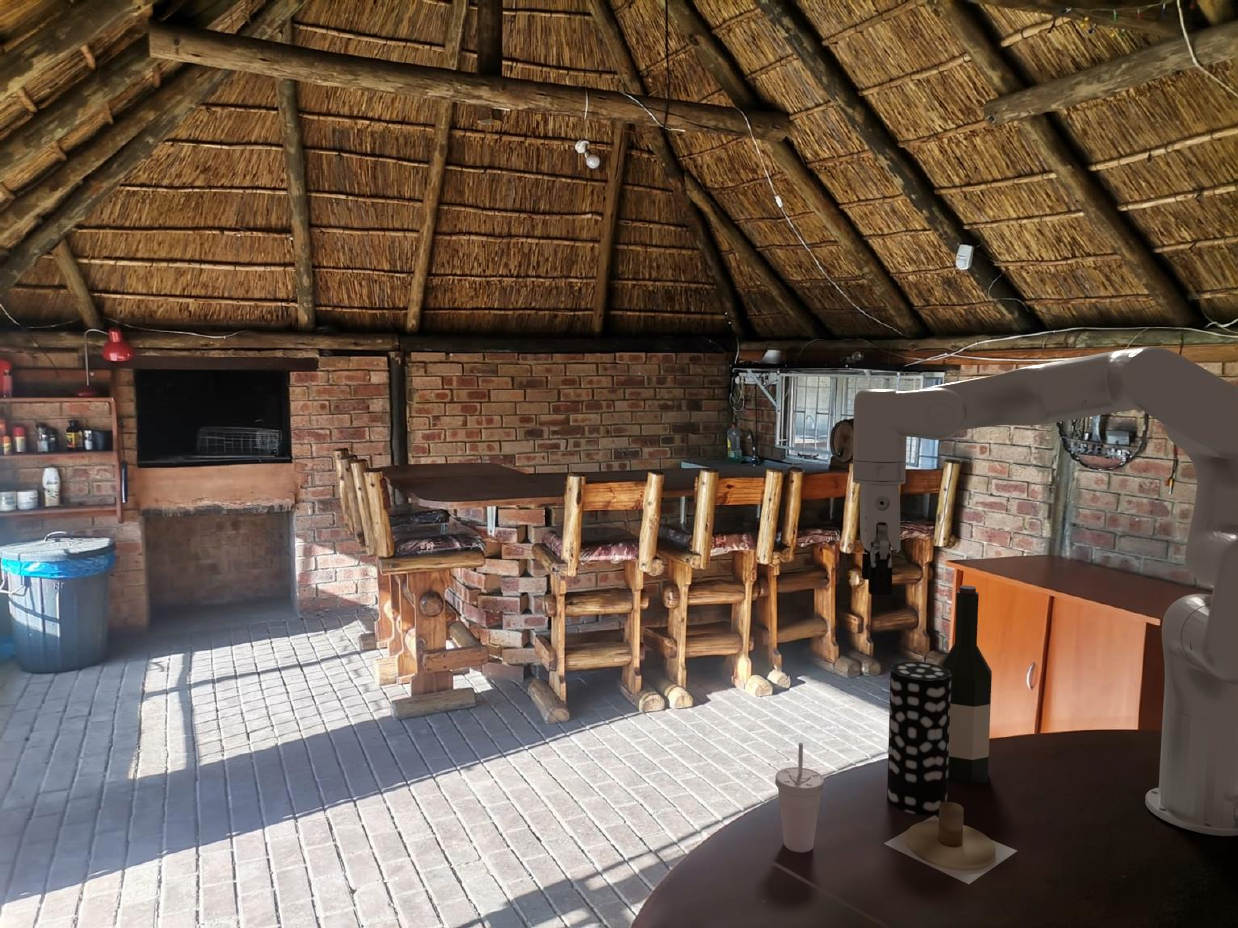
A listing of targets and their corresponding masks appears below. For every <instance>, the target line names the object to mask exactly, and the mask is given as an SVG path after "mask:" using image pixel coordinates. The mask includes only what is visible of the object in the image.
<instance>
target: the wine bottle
mask: <svg viewBox="0 0 1238 928" xmlns="http://www.w3.org/2000/svg"><path fill="white" fill-rule="evenodd" d="M979 595H980V593H979V592H978V591H977V586H973V585H960V586H959V590H956V598H955V601H956V602H955V627H954V629H955V633H954V644H953V645H952V647H951V648H950V649H949V650H948V652H947V654H946V655H945V656H944V657H943V658H942V660H941V662H940V663H939V666H942V667H944V668H946V669H948V670H949V671H950V672H951V702H950V732H949V762H948V781H951V782H957V783H963V784H969V785H975V784H981V785H983V784H987V782H988V783H989V758H990V757H989V755H990V754H989V753H990V733H991V732H990V729H991V727H990V726H991V706H992V704H991V703H992V702H991V701H992V699H991V698H992V679H993V678H992V676H993V672H992V669H991V668H990V666H989V664H988V662H987V660H986V658H985V657H984V655H983V653H982V652H981V650H980V648H979V646H978V626H979V625H978V622H979V621H978V620H979V597H980V596H979Z"/></svg>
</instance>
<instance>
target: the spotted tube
mask: <svg viewBox="0 0 1238 928" xmlns="http://www.w3.org/2000/svg"><path fill="white" fill-rule="evenodd" d="M939 665H940V664H939ZM939 665H938V664H934V663H929V662H924V661H902V662H901V661H900V662H896V663H894V664H891V666H890V676H889V677H890V678H889V709H888V710H889V712H888V713H889V716H888V717H889V718H888V747H887V748H888V749H887V750H888V751H887V785H886V786H887V787H886V798H887V799H886V800H887V801H888V802H889V803H890V805H891V806H893V807H894V808H897V809H898V810H899V811H903V812H906V813H908V814H909V813H910V814H914V815H919V816H920V815H921V816H931V815H933V816H935V815H939V804H940V803H942V802H948V788H949V787H948V786H949V785H948V783H949V780H948V762H949V732H950V702H951V672H950V671H949V670H948V669H946V668H944V667H942V666H939Z"/></svg>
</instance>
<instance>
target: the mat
mask: <svg viewBox="0 0 1238 928" xmlns="http://www.w3.org/2000/svg"><path fill="white" fill-rule="evenodd" d="M924 821H939V816H937V815H933V816H931V817H928V818H927V819H925V820H924ZM924 821H922V822H924ZM906 833H907V830H905V831H903V832H901V833H900V834H898V835H897V836H895V837H893V838H891V839H889V840H888V841H886V842H884V843H883V845H885V846H887V847H889V848H892V849H893V850H896V851H898V852H900V853H902V854H904V855H906V856H908V857H910V858H913V859H915V860H917V861H919V862H920V863H921V862H922V863H923V864H925V865H927V866H929V867H931V868H934V869H936V870H938V871H940V872H941V873H944V874H946V875H947V876H950V877H952V878H954V879H956V880H959V881H961V882H963V883H965V884H967V885H970V884H971V883H973V882H975V881H976V880H977V879H979V878H980V877H982V876H983V875H985V874H987V873H988V872H989V871H990V870H992V869H994V868H995V867H996V866H998V865H999V864H1001V863H1002V862H1004V861H1005V860H1007V859H1008V858H1009V857H1011V856H1013V855H1014V854H1015V853H1018V850H1017V849H1014V848H1013V847H1009V846H1007V845H1005V844H1002V843H1000V842H997V841H995V840H993V839H990V838H989V839H990V840H991V841H992V842H993V843H994V845H995V848H996V855H995V860H994V862H993V863H992V864H991V865H989V866H988V867H985V868H982V869H978V870H954V869H948V868H944V867H940V866H937V865H934V864H931V863H929V862H927V861H925V860H923V859H921V858H920V857H918V856H917V855H915V854H914V853H913V852H912V851H911V850H910V849H909V847H908V845H907V843H906Z"/></svg>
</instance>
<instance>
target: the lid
mask: <svg viewBox="0 0 1238 928" xmlns="http://www.w3.org/2000/svg"><path fill="white" fill-rule="evenodd" d="M964 811H965V810H964V807H963V806H962V805H961V804H959V803H957V802H953V801H952V802H951V801H947V802H942V803H940V804H939V814H938V817H939V821H925V820H924V822H923V821H920V822H917V823H915V824H913V825H911V826H910V827H909V828H908V829H907V830H906V831H907V833H906V843H907V845H908V847H909V849H910V850H911V851H912V852H913V853H914V854H915V855H917V856H918V857H920V858H921V859H923V860H925V861H927V862H929V863H931V864H934V865H937V866H940V867H944V868H948V869H954V870H978V869H982V868H985V867H988V866H989V865H991V864H992V863H993V862H994V860H995V855H996V848H995V845H994V843H993V842H992V841H991V840H992V839H991V840H990V838H989V837H988V836H987V835H986V834H984V833H983V832H981V831H979V830H978V829H975V828H972V827H970V826H968V825H965V824H964V815H965V813H964Z"/></svg>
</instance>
